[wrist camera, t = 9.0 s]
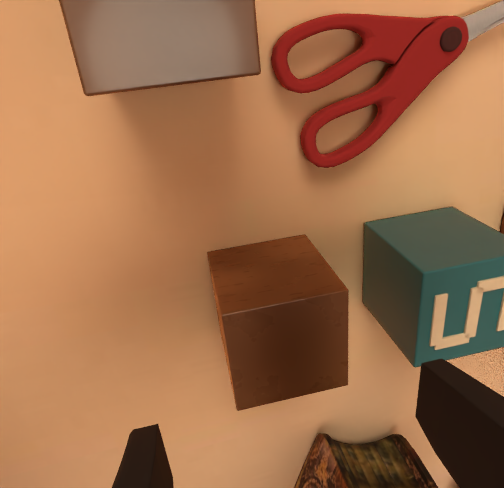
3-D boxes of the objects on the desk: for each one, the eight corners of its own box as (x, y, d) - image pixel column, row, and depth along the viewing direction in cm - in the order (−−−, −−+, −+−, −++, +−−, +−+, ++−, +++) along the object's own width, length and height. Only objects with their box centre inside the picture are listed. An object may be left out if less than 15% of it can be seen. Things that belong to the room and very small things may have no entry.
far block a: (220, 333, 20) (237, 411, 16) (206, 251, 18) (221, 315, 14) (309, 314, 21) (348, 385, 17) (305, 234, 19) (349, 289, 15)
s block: (362, 302, 21) (415, 370, 17) (363, 221, 19) (425, 274, 15) (442, 285, 22) (515, 347, 17) (452, 205, 20) (537, 251, 15)
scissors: (261, 42, 15) (267, 41, 14) (603, -123, 15) (631, -134, 14) (308, 171, 18) (316, 178, 17) (602, 31, 18) (625, 30, 17)
